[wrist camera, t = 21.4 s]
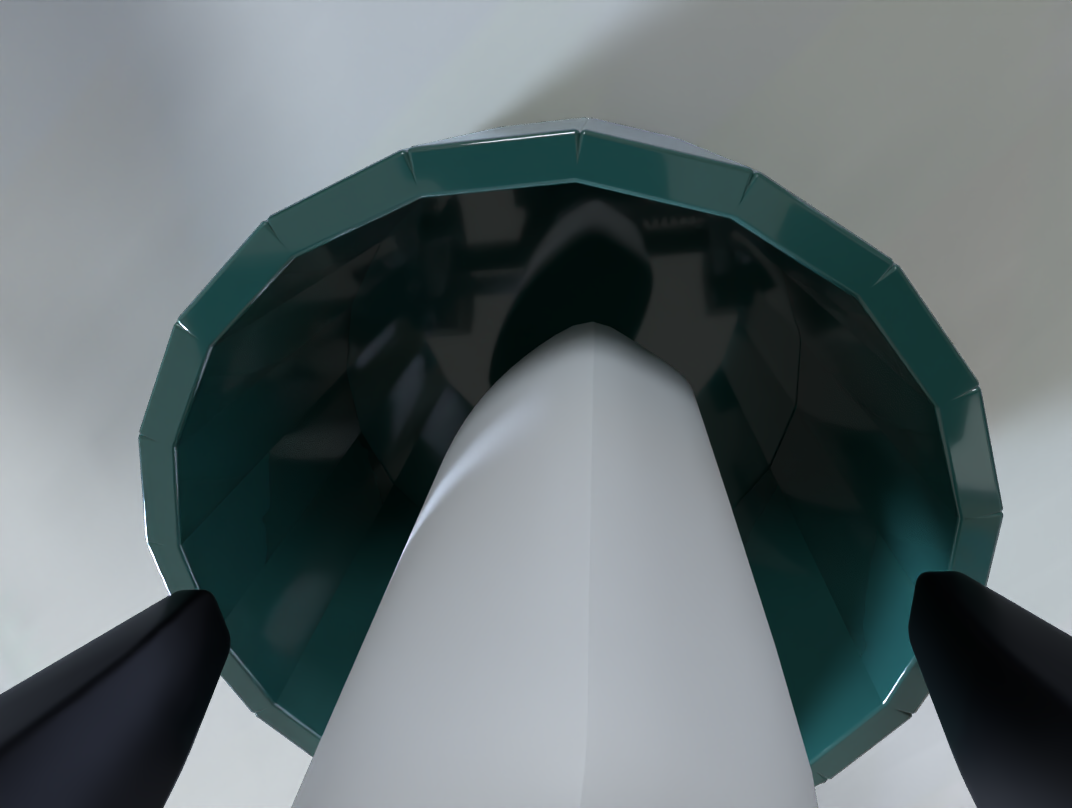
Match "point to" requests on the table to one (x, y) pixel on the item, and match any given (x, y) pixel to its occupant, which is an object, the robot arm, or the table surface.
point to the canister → (513, 332)
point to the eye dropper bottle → (570, 614)
